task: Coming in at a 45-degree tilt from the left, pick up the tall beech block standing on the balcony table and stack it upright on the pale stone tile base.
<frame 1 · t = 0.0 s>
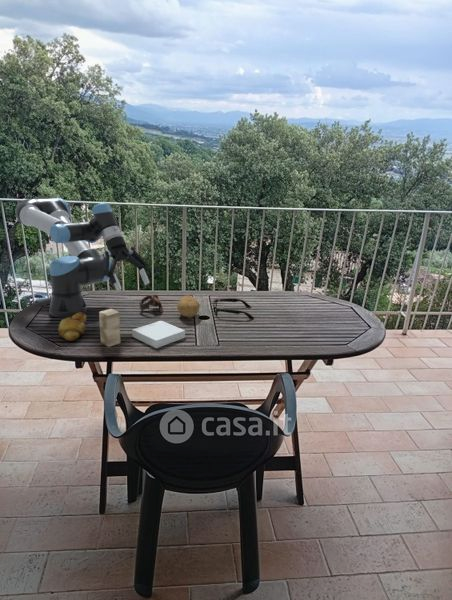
hand: (133, 287, 169), 15 cm above the table, tool tilted 35°, fingers open, 13 cm apart
beech block: (110, 342, 155), on the table
glasses: (232, 313, 191), on the table
bread roll: (71, 336, 159), on the table
brown arched figurine: (152, 310, 189), on the table
stone tile base: (158, 337, 161), on the table
potato: (188, 316, 184), on the table
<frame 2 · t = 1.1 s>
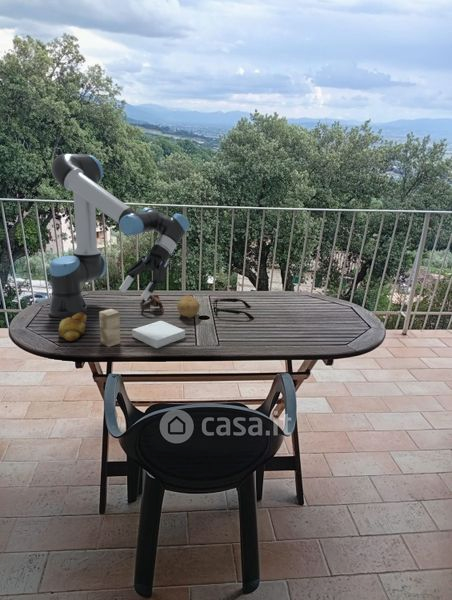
hand: (132, 294, 157), 16 cm above the table, tool tilted 45°, fingers open, 13 cm apart
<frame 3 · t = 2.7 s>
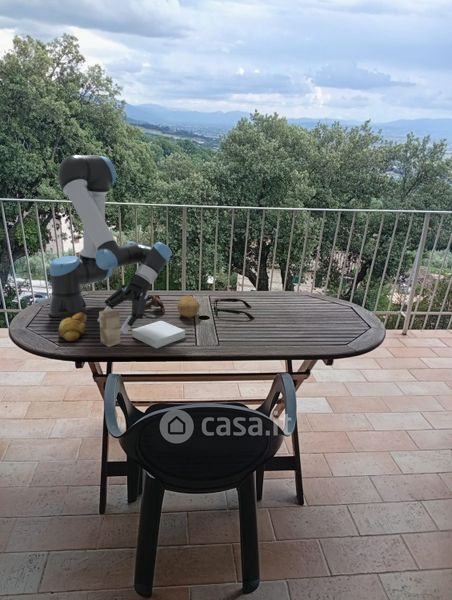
hand: (110, 327, 152), 6 cm above the table, tool tilted 45°, fingers open, 13 cm apart
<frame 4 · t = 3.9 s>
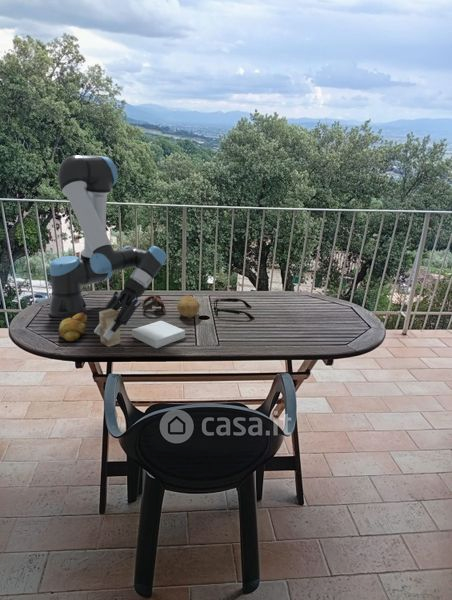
hand: (101, 335, 151), 4 cm above the table, tool tilted 45°, fingers closed on beech block, 5 cm apart
beech block: (110, 342, 155), on the table, touching gripper
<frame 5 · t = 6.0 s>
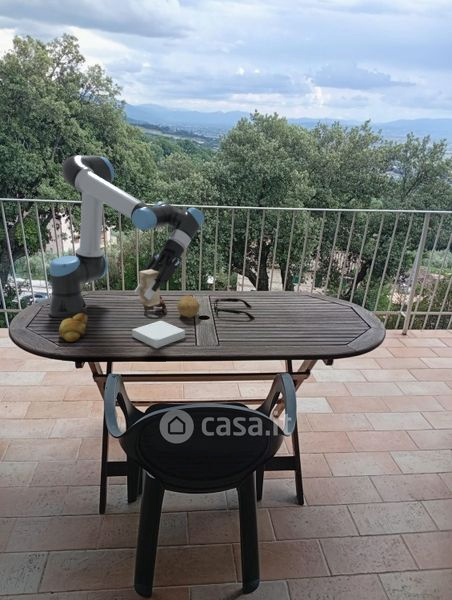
hand: (141, 295, 151), 18 cm above the table, tool tilted 45°, fingers closed on beech block, 5 cm apart
beech block: (150, 303, 155), point 14 cm above the table, touching gripper
when the fingers open (8 cm above the table, at t = 8.2 s): beech block drops 1 cm, resting on stone tile base.
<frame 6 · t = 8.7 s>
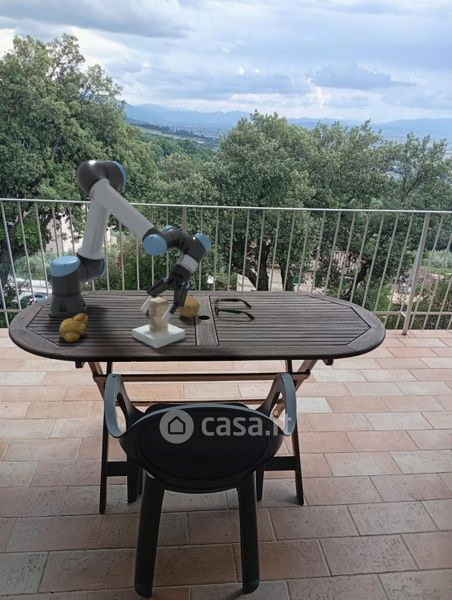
hand: (153, 315, 156), 9 cm above the table, tool tilted 45°, fingers open, 12 cm apart
beech block: (158, 329, 160), point 3 cm above the table, touching stone tile base
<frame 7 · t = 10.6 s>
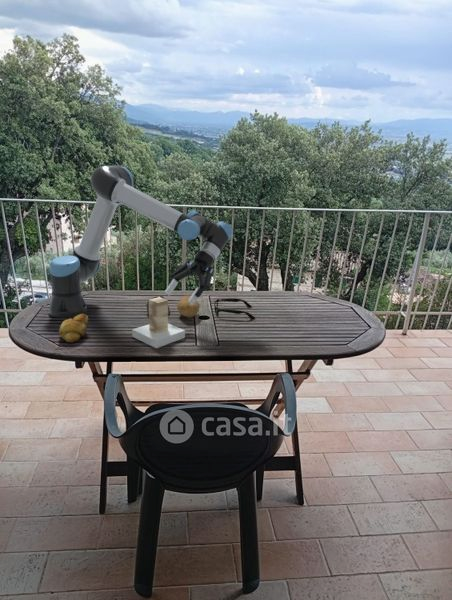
hand: (178, 298, 165), 13 cm above the table, tool tilted 45°, fingers open, 13 cm apart
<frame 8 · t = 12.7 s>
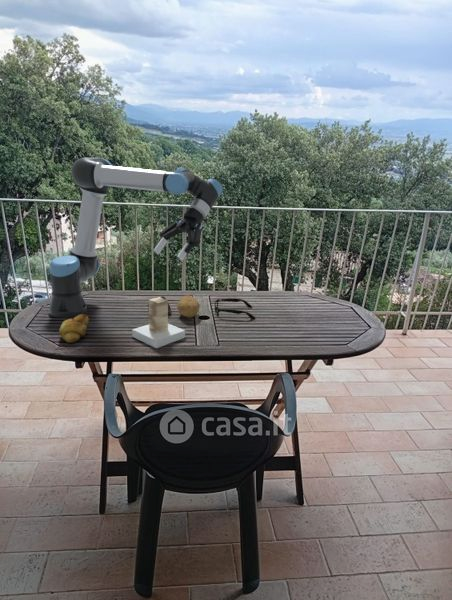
hand: (167, 255, 161), 30 cm above the table, tool tilted 45°, fingers open, 13 cm apart
at the end: beech block inside the target area on the stone tile base (0.1 cm from its centre), point 3.0 cm above the stone tile base's base; beech block tilted 0°; the gripper is holding nothing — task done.
